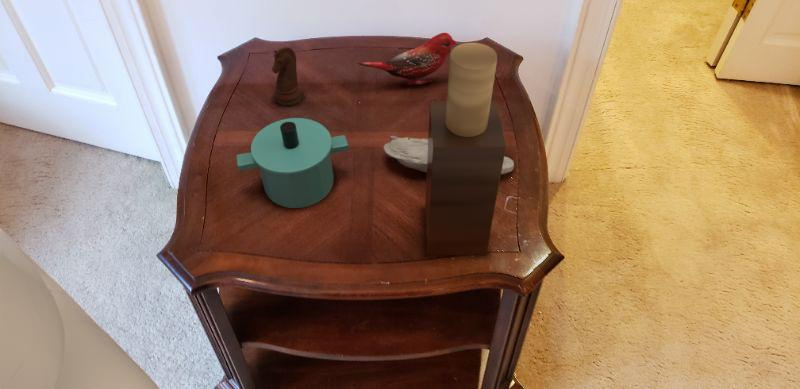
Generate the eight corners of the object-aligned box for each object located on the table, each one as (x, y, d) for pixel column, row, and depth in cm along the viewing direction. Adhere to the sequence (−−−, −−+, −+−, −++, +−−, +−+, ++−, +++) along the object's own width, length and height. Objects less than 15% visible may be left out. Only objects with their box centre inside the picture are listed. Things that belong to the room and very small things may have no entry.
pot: (357, 196, 83) (353, 160, 77) (250, 218, 80) (238, 182, 74) (343, 150, 89) (339, 114, 84) (244, 169, 87) (233, 133, 81)
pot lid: (339, 168, 77) (336, 145, 74) (256, 185, 75) (249, 162, 72) (324, 117, 84) (321, 94, 81) (248, 131, 82) (242, 108, 79)
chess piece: (270, 98, 98) (259, 50, 91) (292, 85, 101) (283, 37, 94) (287, 109, 96) (278, 60, 89) (309, 96, 99) (301, 47, 91)
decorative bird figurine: (456, 84, 101) (460, 36, 94) (360, 97, 99) (357, 48, 91) (452, 75, 103) (455, 27, 95) (358, 87, 100) (354, 39, 93)
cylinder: (489, 137, 61) (500, 68, 55) (446, 137, 61) (452, 69, 55) (485, 109, 65) (494, 42, 58) (444, 110, 65) (448, 42, 58)
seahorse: (504, 132, 90) (382, 124, 87) (526, 161, 80) (390, 153, 77) (498, 160, 93) (379, 154, 90) (519, 192, 83) (386, 186, 80)
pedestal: (486, 254, 75) (506, 146, 60) (427, 255, 75) (433, 147, 60) (479, 210, 81) (496, 100, 66) (425, 210, 81) (429, 101, 66)
